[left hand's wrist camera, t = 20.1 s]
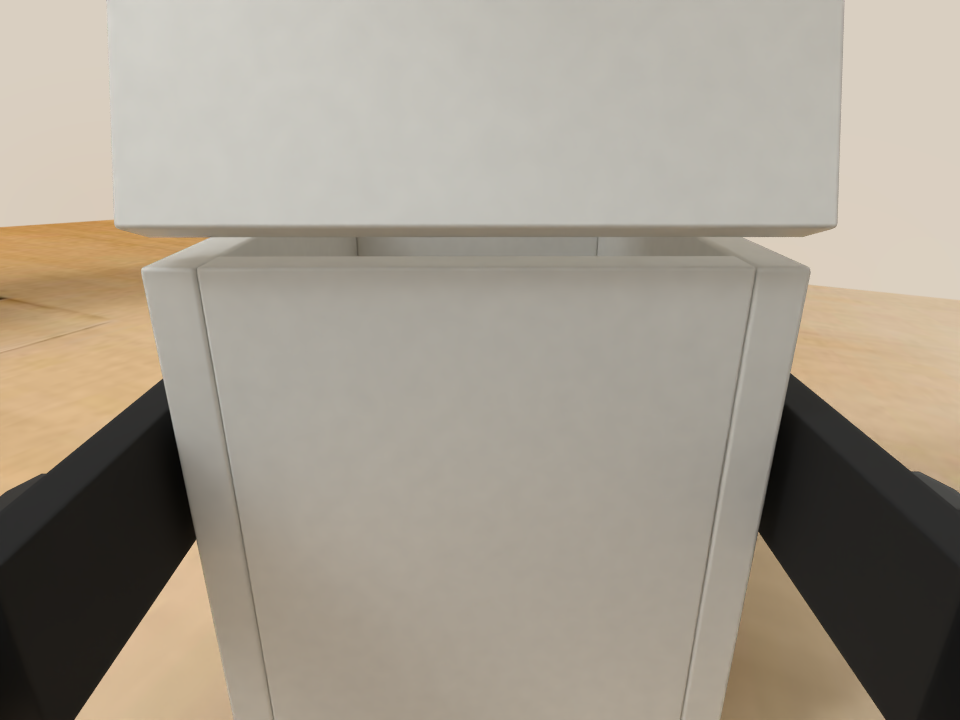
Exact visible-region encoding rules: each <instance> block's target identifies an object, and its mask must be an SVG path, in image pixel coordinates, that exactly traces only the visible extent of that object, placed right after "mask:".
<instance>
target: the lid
mask: <svg viewBox="0 0 960 720" xmlns="http://www.w3.org/2000/svg"><path fill="white" fill-rule="evenodd" d="M107 28H108V57H109V86H110V114H111V143H112V172H113V200H114V224H115V227H116V228H118V229H120V230H124V231H128V232H131V233H135V234H139V235H143V236H146V237H804V236H808V235H812V234H815V233H819V232H823V231H826V230H830V229H833V228H835V227H836V226H837V218H838V187H839V156H840V123H841V92H842V61H843V30H844V0H107Z"/></svg>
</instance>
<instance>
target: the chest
mask: <svg viewBox="0 0 960 720" xmlns="http://www.w3.org/2000/svg"><path fill="white" fill-rule="evenodd" d="M141 274H142V279H143V284H144V289H145V294H146V298H147V303H148V308H149V313H150V318H151V323H152V327H153V332H154V337H155V342H156V347H157V351H158V356H159V361H160V366H161V371H162V376H163V380H164V385H165V390H166V395H167V400H168V405H169V409H170V414H171V419H172V424H173V429H174V434H175V438H176V443H177V448H178V453H179V458H180V462H181V467H182V472H183V477H184V482H185V487H186V491H187V496H188V501H189V506H190V511H191V516H192V520H193V525H194V530H195V535H196V540H197V545H198V549H199V554H200V559H201V564H202V569H203V574H204V578H205V583H206V588H207V593H208V598H209V602H210V607H211V612H212V617H213V622H214V627H215V631H216V636H217V641H218V646H219V651H220V656H221V660H222V665H223V670H224V675H225V680H226V685H227V689H228V694H229V699H230V704H231V709H232V713H233V718H234V720H720V718H721V714H722V709H723V704H724V699H725V694H726V689H727V684H728V679H729V674H730V669H731V664H732V659H733V654H734V649H735V644H736V639H737V634H738V629H739V624H740V619H741V614H742V609H743V605H744V600H745V595H746V590H747V585H748V580H749V575H750V570H751V565H752V560H753V555H754V550H755V545H756V540H757V535H758V530H759V525H760V520H761V515H762V510H763V505H764V500H765V495H766V491H767V486H768V481H769V476H770V471H771V466H772V461H773V456H774V451H775V446H776V441H777V436H778V431H779V426H780V421H781V416H782V411H783V406H784V401H785V396H786V391H787V386H788V382H789V377H790V372H791V367H792V362H793V357H794V352H795V347H796V342H797V337H798V332H799V327H800V322H801V317H802V312H803V307H804V302H805V297H806V292H807V287H808V282H809V277H810V268H809V267H807V266H805V265H803V264H801V263H798V262H796V261H794V260H792V259H789V258H787V257H785V256H783V255H780V254H778V253H776V252H774V251H772V250H769V249H767V248H765V247H763V246H760V245H758V244H756V243H754V242H751V241H749V240H747V239H745V238H743V237H211V238H208V239H206V240H204V241H202V242H199V243H197V244H195V245H193V246H190V247H188V248H186V249H184V250H181V251H179V252H177V253H175V254H172V255H170V256H168V257H166V258H163V259H161V260H159V261H157V262H154V263H152V264H150V265H147V266H145V267H143V268H142V269H141Z"/></svg>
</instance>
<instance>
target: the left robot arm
mask: <svg viewBox="0 0 960 720" xmlns="http://www.w3.org/2000/svg"><path fill="white" fill-rule="evenodd" d="M758 532H759V533H760V535H761V536H762V538H763V539H764V540H765V542H766V543H767V545H768V546H769V548H770V549H771V551H772V552H773V554H774V555H775V557H776V558H777V560H778V561H779V563H780V564H781V566H782V567H783V569H784V570H785V572H786V573H787V574H788V576H789V577H790V579H791V580H792V582H793V583H794V585H795V586H796V588H797V589H798V591H799V592H800V594H801V595H802V597H803V598H804V600H805V601H806V603H807V604H808V606H809V607H810V608H811V610H812V611H813V613H814V614H815V616H816V617H817V619H818V620H819V622H820V623H821V625H822V626H823V628H824V629H825V631H826V632H827V634H828V635H829V637H830V638H831V640H832V641H833V642H834V644H835V645H836V647H837V648H838V650H839V651H840V653H841V654H842V656H843V657H844V659H845V660H846V662H847V663H848V665H849V666H850V668H851V669H852V671H853V672H854V674H855V675H856V676H857V678H858V679H859V681H860V682H861V684H862V685H863V687H864V688H865V690H866V691H867V693H868V694H869V696H870V697H871V699H872V700H873V702H874V703H875V705H876V706H877V708H878V709H879V710H880V712H881V713H882V715H883V716H884V718H885V719H886V720H960V493H958V492H957V491H956V490H954V489H953V488H951V487H949V486H947V485H945V484H943V483H941V482H939V481H937V480H935V479H933V478H931V477H929V476H927V475H925V474H923V473H921V472H911V471H910V470H908V469H907V468H906V467H905V466H903V465H902V464H901V463H900V462H899V461H897V460H896V459H895V458H894V457H892V456H891V455H890V454H889V453H888V452H886V451H885V450H884V449H883V448H881V447H880V446H879V445H878V444H877V443H875V442H874V441H873V440H872V439H870V438H869V437H868V436H867V435H865V434H864V433H863V432H862V431H861V430H859V429H858V428H857V427H856V426H854V425H853V424H852V423H851V422H850V421H848V420H847V419H846V418H845V417H843V416H842V415H841V414H840V413H839V412H837V411H836V410H835V409H834V408H832V407H831V406H830V405H829V404H828V403H826V402H825V401H824V400H823V399H821V398H820V397H819V396H818V395H816V394H815V393H814V392H813V391H812V390H810V389H809V388H808V387H807V386H805V385H804V384H803V383H802V382H801V381H799V380H798V379H797V378H796V377H794V376H793V375H792V374H791V373H790V377H789V382H788V386H787V391H786V396H785V401H784V406H783V411H782V416H781V421H780V426H779V431H778V436H777V441H776V446H775V451H774V456H773V461H772V466H771V471H770V476H769V481H768V486H767V491H766V495H765V500H764V505H763V510H762V515H761V520H760V525H759V530H758ZM195 540H196V535H195V530H194V525H193V520H192V516H191V511H190V506H189V501H188V496H187V491H186V487H185V482H184V477H183V472H182V467H181V462H180V458H179V453H178V448H177V443H176V438H175V434H174V429H173V424H172V419H171V414H170V409H169V405H168V400H167V395H166V390H165V385H164V380H163V379H162V380H161V381H159V382H158V383H157V384H156V385H155V386H153V387H152V388H151V389H150V390H148V391H147V392H146V393H145V394H143V395H142V396H141V397H140V398H139V399H137V400H136V401H135V402H134V403H132V404H131V405H130V406H129V407H128V408H126V409H125V410H124V411H123V412H121V413H120V414H119V415H118V416H117V417H115V418H114V419H113V420H112V421H110V422H109V423H108V424H107V425H106V426H104V427H103V428H102V429H101V430H99V431H98V432H97V433H96V434H94V435H93V436H92V437H91V438H90V439H88V440H87V441H86V442H85V443H83V444H82V445H81V446H80V447H79V448H77V449H76V450H75V451H74V452H72V453H71V454H70V455H69V456H68V457H66V458H65V459H64V460H63V461H61V462H60V463H59V464H58V465H56V466H55V467H54V468H53V469H52V470H50V471H49V472H48V473H47V474H40V475H38V476H36V477H34V478H32V479H30V480H28V481H26V482H24V483H22V484H20V485H18V486H16V487H14V488H12V489H10V490H8V491H7V492H5V493H4V494H3V495H2V496H0V720H74V719H75V718H76V716H77V715H78V713H79V712H80V710H81V709H82V707H83V706H84V705H85V703H86V702H87V700H88V699H89V697H90V696H91V694H92V693H93V691H94V690H95V688H96V687H97V685H98V684H99V682H100V681H101V679H102V678H103V676H104V675H105V673H106V672H107V671H108V669H109V668H110V666H111V665H112V663H113V662H114V660H115V659H116V657H117V656H118V654H119V653H120V651H121V650H122V648H123V647H124V645H125V644H126V642H127V641H128V639H129V638H130V637H131V635H132V634H133V632H134V631H135V629H136V628H137V626H138V625H139V623H140V622H141V620H142V619H143V617H144V616H145V614H146V613H147V611H148V610H149V608H150V607H151V605H152V604H153V603H154V601H155V600H156V598H157V597H158V595H159V594H160V592H161V591H162V589H163V588H164V586H165V585H166V583H167V582H168V580H169V579H170V577H171V576H172V574H173V573H174V571H175V570H176V569H177V567H178V566H179V564H180V563H181V561H182V560H183V558H184V557H185V555H186V554H187V552H188V551H189V549H190V548H191V546H192V545H193V543H194V542H195Z"/></svg>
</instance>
